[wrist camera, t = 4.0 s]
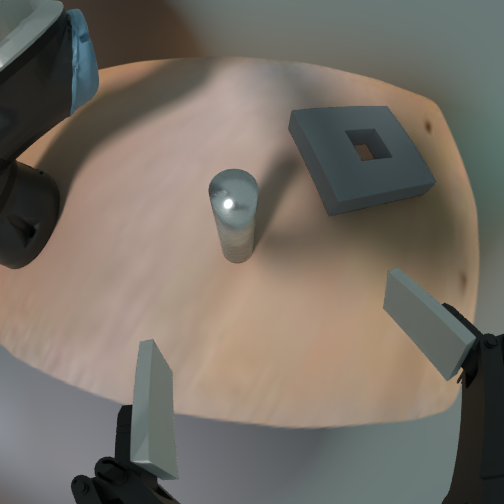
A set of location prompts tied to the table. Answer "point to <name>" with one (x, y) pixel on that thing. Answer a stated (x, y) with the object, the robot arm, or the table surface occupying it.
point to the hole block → (348, 160)
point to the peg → (235, 212)
